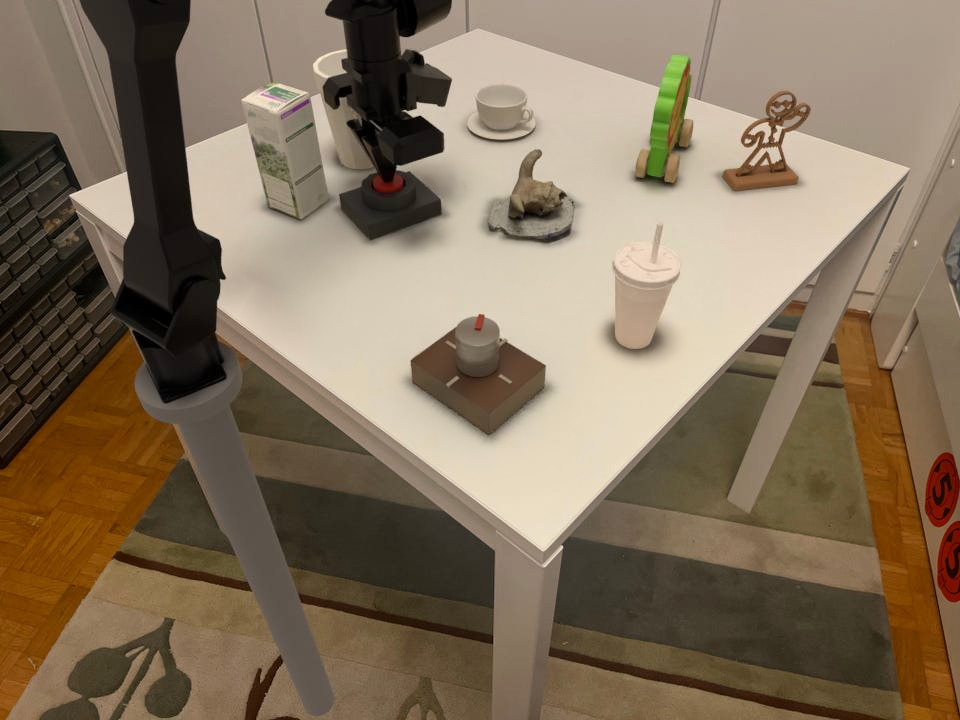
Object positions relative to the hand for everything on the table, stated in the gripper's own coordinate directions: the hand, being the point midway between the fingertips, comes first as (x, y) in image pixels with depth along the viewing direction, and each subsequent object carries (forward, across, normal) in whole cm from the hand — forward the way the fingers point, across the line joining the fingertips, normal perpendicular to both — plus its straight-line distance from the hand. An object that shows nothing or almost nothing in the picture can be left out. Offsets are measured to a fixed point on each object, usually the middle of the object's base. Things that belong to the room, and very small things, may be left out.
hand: (387, 180), depth 90 cm
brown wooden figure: (+5, -20, -44) cm, 49 cm away
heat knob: (+1, -31, +7) cm, 32 cm away
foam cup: (+5, +14, -3) cm, 15 cm away
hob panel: (+4, -31, +7) cm, 32 cm away
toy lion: (+5, -10, -36) cm, 38 cm away
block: (+4, 0, 0) cm, 4 cm away
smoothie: (+5, -34, -10) cm, 36 cm away
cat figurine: (+5, -11, -14) cm, 18 cm away
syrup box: (+5, +8, +9) cm, 13 cm away
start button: (+2, 0, 0) cm, 2 cm away
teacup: (+5, +11, -24) cm, 27 cm away
